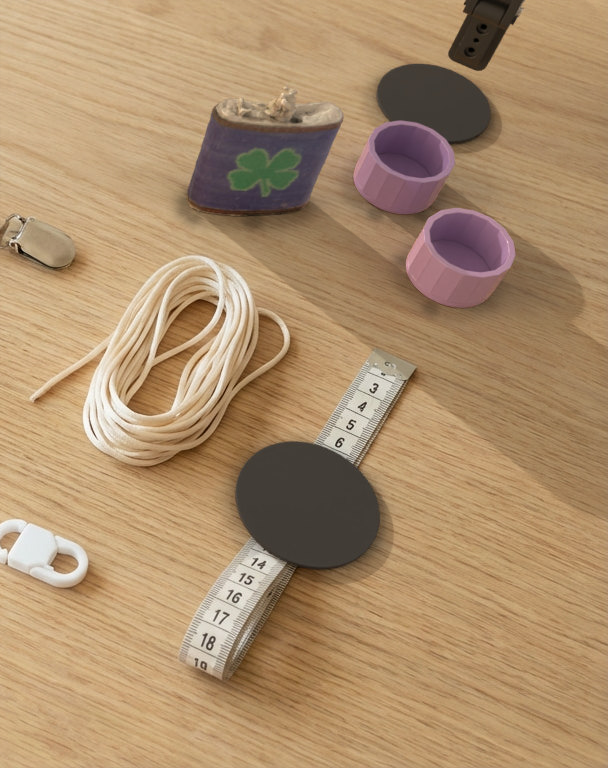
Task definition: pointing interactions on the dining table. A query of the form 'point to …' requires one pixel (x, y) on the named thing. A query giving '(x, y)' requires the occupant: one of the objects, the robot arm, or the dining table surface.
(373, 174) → the dish
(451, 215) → the dish
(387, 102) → the coaster back
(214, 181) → the flask
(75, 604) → the dining table surface
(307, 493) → the disc
